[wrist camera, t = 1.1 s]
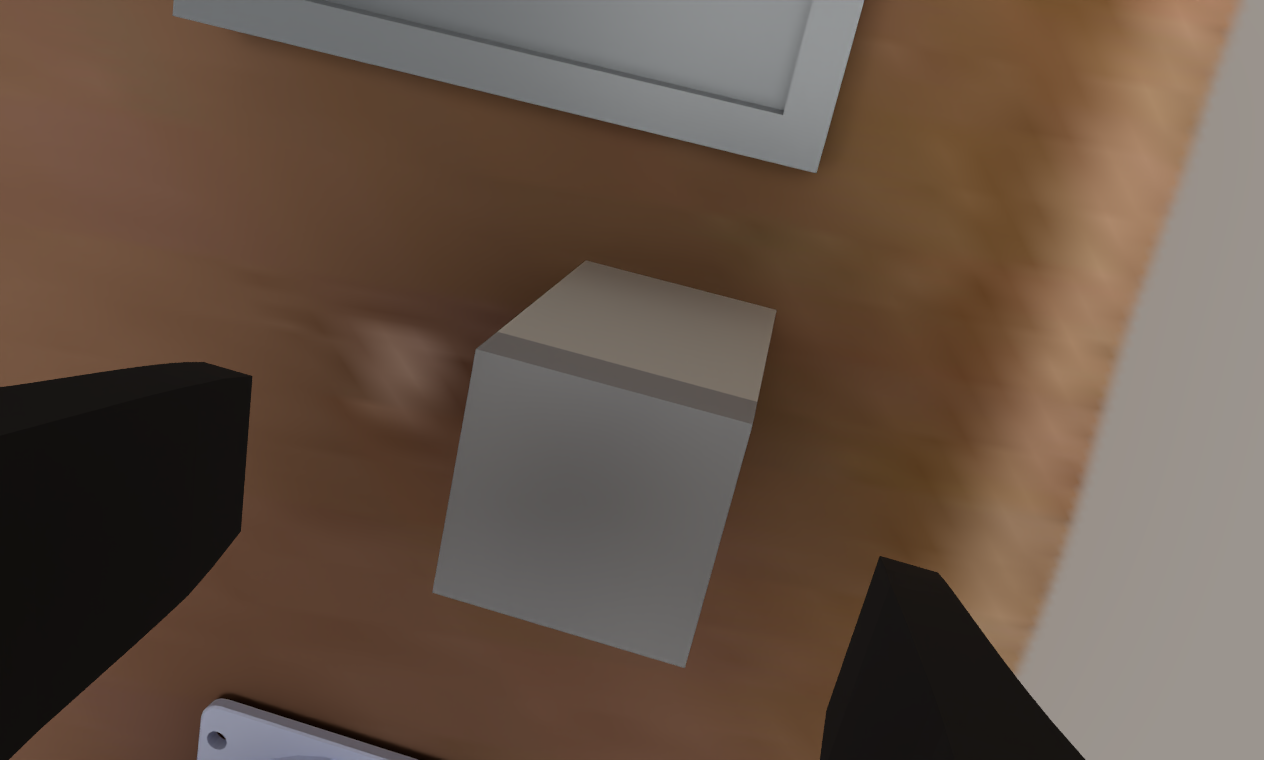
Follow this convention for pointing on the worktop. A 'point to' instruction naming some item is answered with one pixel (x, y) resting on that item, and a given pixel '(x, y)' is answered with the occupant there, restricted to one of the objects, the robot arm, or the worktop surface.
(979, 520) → the worktop surface
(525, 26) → the tray
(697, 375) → the light grey tall block
